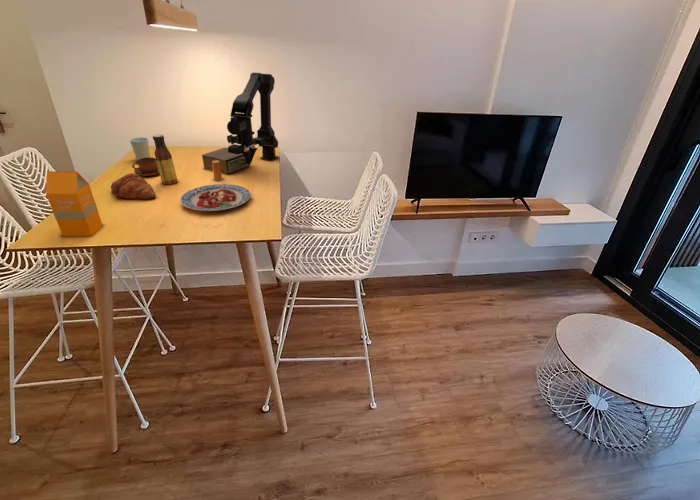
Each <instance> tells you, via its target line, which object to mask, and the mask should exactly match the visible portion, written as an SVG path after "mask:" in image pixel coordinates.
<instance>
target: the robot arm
mask: <svg viewBox="0 0 700 500" xmlns="http://www.w3.org/2000/svg"><path fill="white" fill-rule="evenodd" d="M275 82H276V79H275V77H274V76H273V75H272V74H271V73H262V72H251V73H250V76H249V79H248V81H247V83H246V85H245V87H244V90H243V91H242V92H241V93H240V94H238V95H237V96H236V97H235V98H234V100H233V102H232V106H231V110H230V120H229V121H228V122H227V124H226V129H227V131H228V133H229V135H226V140H227V143H228V144H230V145H228V146H227V148H228V153H233V154H241V153H242V154H243V156H244V157H245V160H246V162H247V164H249V166H251V164H252V163H253V160H254V157H255V154H256V152H257V150H259V149H258V147H260V148H262V149H261V153H262V157H261V156H260V159H261V160H265V161H269V162H270V161H274V160H276V159H278V158H279V156H277V155H276V148H279V140H278V139H277V137H276V134H275V130H274V129H273V126H272V115H271V114H272V111H271V110H272V107H271V106H272V105H271V104H272V103H271V102H272V101H271V99H272V98H271V95H272V93H273V91H274V89H275ZM257 92H258V94H259V103H260V104H259V105H260V107H259V108H260V127H259V129H257V131H256V134H257V135H256V137H254V136H253V135H255V131H253V125H252V124H253V123H252V118H253V114H252V113H253V110H254V107H255V106H254V99H255V96H256V94H257ZM257 145H258V147H256V146H257Z"/></svg>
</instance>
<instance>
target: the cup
mask: <svg viewBox="0 0 700 500" xmlns="http://www.w3.org/2000/svg"><path fill="white" fill-rule="evenodd" d="M129 143H130V145H131V147H132V150H133V152H134V155H135V158H136V161H137V162H138V160H139V159H142V158H149V157H151V155H150V145H149V138H148V137H142V136H141V137H133V138H130V139H129Z"/></svg>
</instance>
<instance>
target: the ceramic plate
mask: <svg viewBox="0 0 700 500" xmlns="http://www.w3.org/2000/svg"><path fill="white" fill-rule="evenodd" d="M251 196H252V193H251V190H249V189H248V188H246V187H244V186H241V185H237V184H231V183H215V184H206V185H201V186H198V187H195V188H193V189H189V190H188V191H186V192H184V193H183V194H182V195H181V196H180V199H179V200H180V203H181V205H182V206H183V207H185V208H187V209H190V210H193V211H199V212H200V211H201V212H216V211H219V212H220V211H225V210H229V209H233V208H236V207H239V206H241V205H243V204H245V203H247V202H248V201H249V200H250V199H251Z"/></svg>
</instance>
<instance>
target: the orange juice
mask: <svg viewBox="0 0 700 500" xmlns="http://www.w3.org/2000/svg"><path fill="white" fill-rule="evenodd" d="M45 186H46V187H45V196H46V198H47V200H48V202H49V204H50V209H51V210H52V213H53V216H54V219H55V220H56V224H57V225H58V229H59V230H60V233H61V235H62V237H92V236H94V235H95V233H96V232H98V230H100V229H101V228H102V227H103V221H102V219H101V215H100V213H99V210H98V206H97V203H96V200H95V197H94V194H93V192H92V189H91V185H90V183H89V182H88V181H87V180H86V179H85V178H84V177H83V176H82V175H81V174H80V173H79V172H78V171H58V170H57V171H55V170H54V171H49V170H48V171H46V185H45Z"/></svg>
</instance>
